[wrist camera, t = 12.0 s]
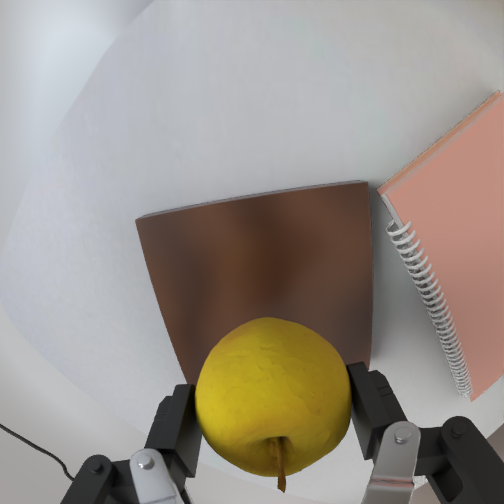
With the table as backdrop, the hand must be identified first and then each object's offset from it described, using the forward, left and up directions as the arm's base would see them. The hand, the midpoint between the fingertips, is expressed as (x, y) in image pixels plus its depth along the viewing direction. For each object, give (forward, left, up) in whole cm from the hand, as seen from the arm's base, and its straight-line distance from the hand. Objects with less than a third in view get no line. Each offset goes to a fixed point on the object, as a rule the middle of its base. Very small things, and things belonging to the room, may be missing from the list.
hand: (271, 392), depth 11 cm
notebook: (+21, -2, -9) cm, 23 cm away
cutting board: (0, 0, -9) cm, 9 cm away
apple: (0, 0, -4) cm, 4 cm away
